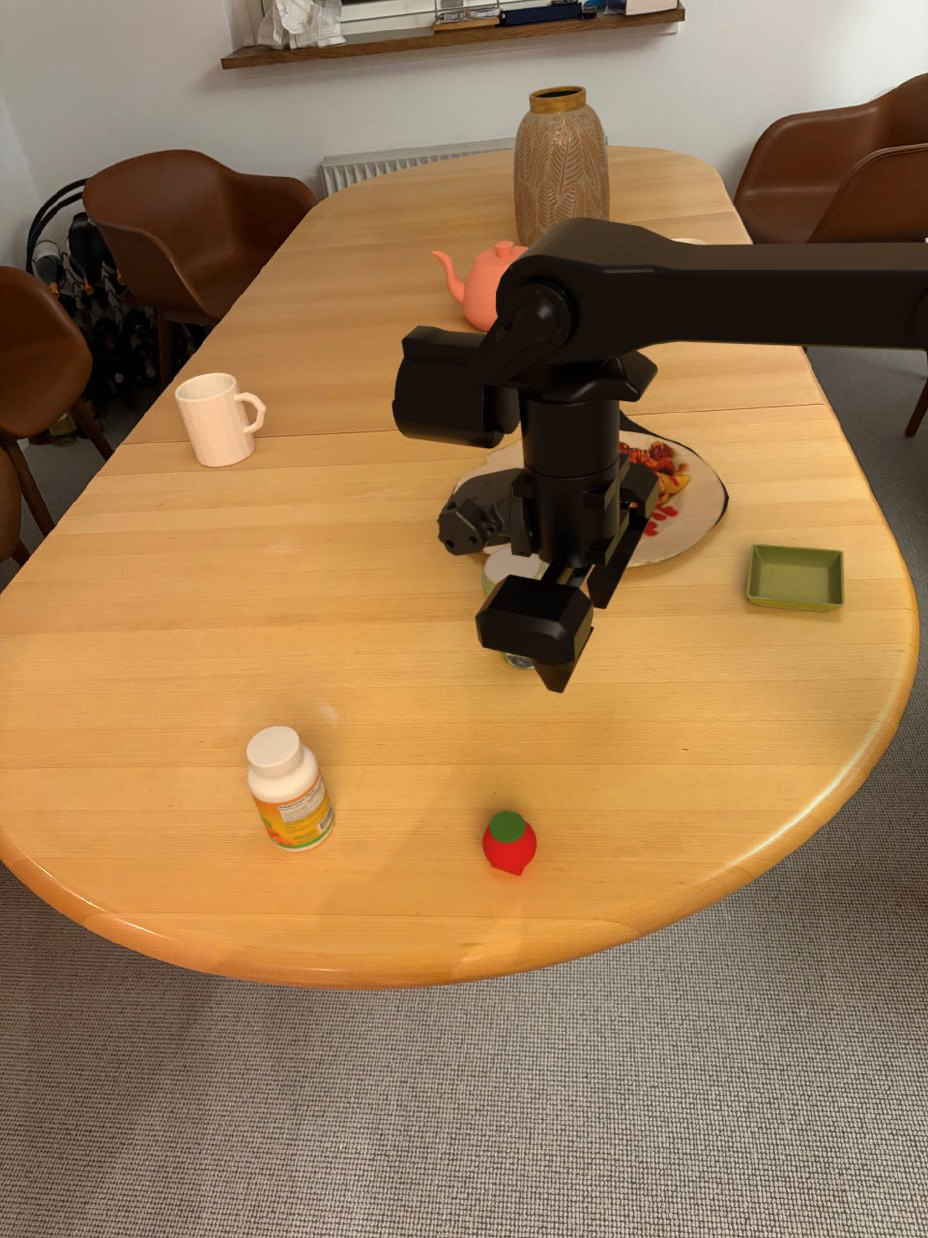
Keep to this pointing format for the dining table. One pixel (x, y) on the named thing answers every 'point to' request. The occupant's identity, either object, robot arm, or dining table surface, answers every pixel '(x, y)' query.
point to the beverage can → (501, 567)
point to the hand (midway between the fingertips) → (578, 646)
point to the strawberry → (509, 842)
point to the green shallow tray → (796, 578)
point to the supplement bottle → (288, 789)
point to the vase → (559, 163)
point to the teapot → (480, 282)
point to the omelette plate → (684, 491)
